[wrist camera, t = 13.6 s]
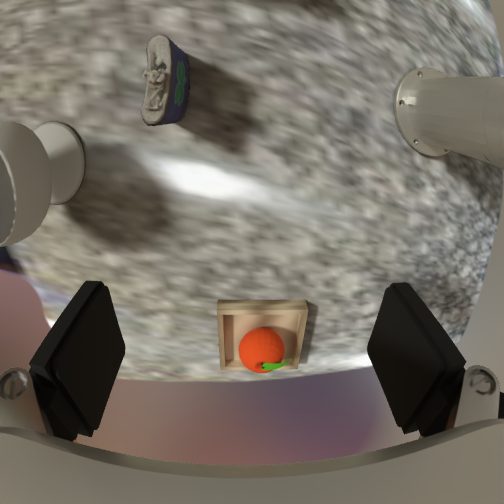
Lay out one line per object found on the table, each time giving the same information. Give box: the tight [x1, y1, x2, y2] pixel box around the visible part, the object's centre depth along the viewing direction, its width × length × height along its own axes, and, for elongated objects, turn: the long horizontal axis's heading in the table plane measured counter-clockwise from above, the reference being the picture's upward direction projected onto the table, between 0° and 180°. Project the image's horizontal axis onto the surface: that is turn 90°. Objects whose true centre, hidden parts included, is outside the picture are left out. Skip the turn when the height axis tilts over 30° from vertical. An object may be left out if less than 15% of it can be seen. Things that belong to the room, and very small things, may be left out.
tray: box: [217, 300, 308, 370], centre depth 45 cm, size 13×13×2 cm
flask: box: [141, 35, 190, 126], centre depth 25 cm, size 9×3×11 cm, turn 175°
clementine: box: [238, 328, 292, 373], centre depth 42 cm, size 8×7×7 cm
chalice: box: [0, 121, 85, 247], centre depth 26 cm, size 14×14×15 cm
